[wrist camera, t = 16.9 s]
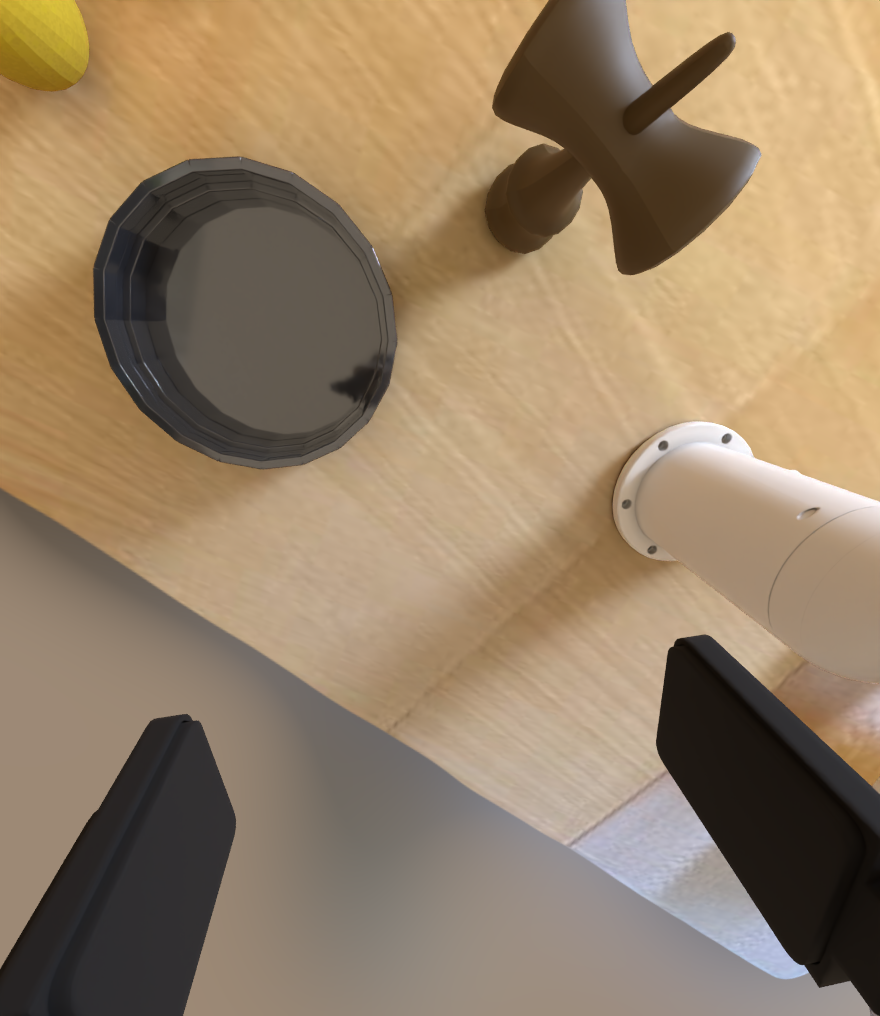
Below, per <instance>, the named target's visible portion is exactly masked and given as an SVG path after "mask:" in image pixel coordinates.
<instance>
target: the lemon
mask: <svg viewBox="0 0 880 1016" xmlns="http://www.w3.org/2000/svg"><path fill="white" fill-rule="evenodd" d="M88 58H89V42H88V34H87V31H86V28H85V24H84V21H83V18H82V15H81V13H80V10H79V8H78V7H77V5H76V3H75V1H74V0H0V74H1V75H3V76H4V77H6V78H8V79H10V80H12V81H14V82H17V83H19V84H22V85H25V86H27V87H30V88H32V89H37V90H44V91H59V90H65V89H67V88H69V87H71V86H73V85H74V84H76V83H77V82H78V81H79V80H80V79H81V77H82V76H83V75H84V73H85V70H86V68H87V65H88Z"/></svg>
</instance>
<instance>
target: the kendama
mask: <svg viewBox="0 0 880 1016" xmlns="http://www.w3.org/2000/svg"><path fill="white" fill-rule="evenodd" d="M735 44H736V39H735V36H734V35H733V34H732V33H730V32H727V33H725V34H722V35H720V36H718V37H717V38H715V39H713V40H712V41H710V42H709V43H707V44H706V45H705V46H703V47H702V48H701V49H699V50H698V51H697V52H695V53H694V54H693V55H691V56H690V57H689V58H687V59H686V60H685V61H684V62H682V63H681V64H680V65H678V66H677V67H676V68H675V69H673V70H672V71H671V72H670V73H668V74H667V75H666V76H665V77H663V78H662V79H661V80H659V81H658V82H657V83H656V84H654V85H652V84H651V82H650V81H649V79H648V77H647V76H646V74H645V72H644V71H643V68H642V66H641V64H640V62H639V60H638V58H637V55H636V52H635V49H634V46H633V43H632V39H631V34H630V29H629V23H628V15H627V7H626V0H549V1H548V3H547V4H546V5H545V7H544V8H543V10H542V11H541V13H540V14H539V16H538V17H537V19H536V20H535V22H534V23H533V25H532V26H531V28H530V29H529V31H528V32H527V34H526V35H525V37H524V39H523V40H522V42H521V44H520V45H519V47H518V49H517V50H516V52H515V54H514V55H513V57H512V59H511V61H510V62H509V64H508V66H507V67H506V69H505V71H504V73H503V75H502V77H501V80H500V82H499V84H498V86H497V89H496V92H495V95H494V99H493V106H492V108H493V110H494V113H495V115H496V116H498V117H499V118H501V119H502V120H504V121H506V122H508V123H511V124H513V125H515V126H518V127H521V128H524V129H527V130H529V131H532V132H535V133H537V134H540V135H542V136H545V137H547V138H549V139H551V140H553V141H555V142H556V143H558V144H559V145H561V146H562V147H564V148H565V149H563V150H561V151H560V150H559V149H558V148H555V147H552V146H549V145H546V144H541V145H538V146H535V147H531V148H529V149H528V150H527V151H526V152H524V153H523V154H522V155H521V156H520V157H519V158H518V159H517V160H516V162H515V163H514V164H511V165H509V166H508V167H507V168H506V169H505V170H504V171H503V172H502V173H500V174H499V175H498V176H497V178H496V179H495V181H494V183H493V185H492V187H491V189H490V191H489V192H488V195H487V202H486V208H485V213H486V217H487V221H488V225H489V228H490V230H491V231H492V233H493V234H494V236H495V237H496V239H497V240H498V242H500V243H501V244H502V245H504V246H505V247H506V248H508V249H509V250H510V251H514V252H518V253H522V254H526V253H529V252H532V251H535V250H538V249H540V248H541V247H542V246H543V245H544V244H545V243H546V242H548V241H549V240H550V239H551V238H552V236H553V235H555V234H558V233H559V232H561V231H562V230H563V229H564V228H565V227H566V226H568V225H569V224H570V223H571V222H572V220H573V218H574V217H575V215H576V213H577V212H578V210H579V208H580V203H581V198H582V194H583V190H582V188H583V187H584V186H585V185H586V183H587V182H588V181H589V180H590V179H591V178H592V179H593V181H594V182H595V183H596V184H597V186H598V187H599V189H600V190H601V192H602V194H603V196H604V198H605V200H606V203H607V206H608V209H609V214H610V219H611V225H612V233H613V242H614V251H615V258H616V264H617V268H618V271H619V272H620V273H622V274H625V275H635V274H639V273H642V272H644V271H647V270H649V269H652V268H654V267H656V266H658V265H659V264H661V263H663V262H664V261H666V260H667V259H669V258H670V257H672V256H674V255H675V254H677V253H678V252H679V251H681V250H682V249H683V248H684V247H685V246H687V245H688V244H689V243H690V242H692V241H693V240H694V239H695V238H696V237H698V236H699V235H700V234H701V233H702V232H704V231H705V230H706V229H707V228H708V227H709V226H710V225H711V224H712V223H713V222H714V221H715V220H716V219H717V218H718V217H719V216H720V215H721V214H722V213H723V212H724V211H725V210H726V209H727V208H728V207H729V206H730V204H731V203H732V202H733V201H734V199H735V198H736V197H737V195H738V194H739V193H740V191H741V190H742V189H743V188H744V186H745V185H746V184H747V182H748V181H749V179H750V177H751V175H752V173H753V171H754V169H755V167H756V165H757V163H758V161H759V159H760V157H761V153H760V150H759V148H757V147H756V146H754V145H753V144H751V143H749V142H747V141H745V140H742V139H739V138H736V137H732V136H728V135H724V134H720V133H716V132H712V131H708V130H705V129H701V128H698V127H695V126H693V125H690V124H688V123H686V122H684V121H683V120H681V119H679V118H678V117H677V116H676V115H675V114H674V113H673V111H672V109H670V108H671V107H672V106H673V105H674V104H676V103H677V102H678V101H679V100H680V99H682V98H683V97H684V96H685V95H686V94H688V93H689V92H690V91H691V90H692V89H694V88H695V87H696V86H697V85H698V84H699V83H700V82H702V81H703V80H704V79H705V78H706V77H707V76H708V75H710V74H711V73H712V72H713V71H714V70H715V69H716V68H717V67H718V66H719V65H720V64H721V63H722V62H723V61H724V60H725V59H726V58H727V57H728V56H729V55H730V54H731V52H732V51H733V49H734V47H735Z"/></svg>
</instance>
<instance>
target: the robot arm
mask: <svg viewBox="0 0 880 1016" xmlns="http://www.w3.org/2000/svg"><path fill="white" fill-rule="evenodd" d="M612 505H613V517H614V520H615V524H616V527H617V529H618V531H619V533H620V534H621V536H622V538H623V539H624V540H625V541H626V542H627V543H628V544H629V545H630V546H631V547H632V548H634V549H635V550H636V551H637V552H639V553H640V554H642V555H644V556H646V557H648V558H652V559H656V560H660V561H677V560H678V561H679V562H680V563H681V564H683V565H684V566H685V567H686V568H688V569H689V570H690V571H692V572H693V573H694V574H695V575H697V576H698V577H699V578H701V579H702V580H703V581H704V582H706V583H707V584H708V585H709V586H711V587H712V588H713V589H715V590H716V591H717V592H718V593H720V594H721V595H722V596H724V597H725V598H726V599H727V600H729V601H730V602H731V603H732V604H734V605H735V606H736V607H738V608H739V609H740V610H741V611H743V612H744V613H745V614H746V615H748V616H749V617H750V618H752V619H753V620H754V621H755V622H757V623H758V624H759V625H761V626H762V627H763V628H764V629H766V630H767V631H768V632H769V633H771V634H772V635H773V636H775V637H776V638H777V639H778V640H780V641H781V642H782V643H784V644H785V645H786V646H788V647H789V648H790V649H791V650H793V651H794V652H795V653H797V654H798V655H799V656H801V657H802V658H804V659H805V660H807V661H808V662H810V663H811V664H813V665H815V666H816V667H818V668H820V669H822V670H824V671H827V672H829V673H832V674H834V675H837V676H840V677H843V678H846V679H851V680H855V681H860V682H866V683H875V684H880V502H879V501H876V500H873V499H870V498H867V497H864V496H861V495H859V494H856V493H853V492H850V491H847V490H844V489H841V488H839V487H836V486H833V485H830V484H827V483H824V482H821V481H819V480H816V479H813V478H810V477H807V476H804V475H801V474H800V473H799V472H798V471H797V470H787V469H784V468H781V467H778V466H776V465H773V464H770V463H767V462H764V461H761V460H758V459H756V458H754V456H753V454H752V451H751V449H750V447H749V446H748V445H747V443H746V442H745V440H744V439H743V438H742V437H741V436H739V435H738V434H737V433H736V432H735V431H733V430H731V429H729V428H726V427H724V426H722V425H718V424H714V423H711V422H701V421H694V422H685V423H681V424H678V425H674V426H671V427H669V428H667V429H665V430H663V431H661V432H659V433H657V434H655V435H654V436H652V437H651V438H650V439H648V440H647V441H646V442H644V443H643V444H642V445H641V446H640V447H639V448H638V449H637V450H636V451H635V452H634V453H633V455H632V456H631V457H630V459H629V460H628V461H627V463H626V464H625V466H624V468H623V470H622V472H621V474H620V476H619V478H618V480H617V483H616V487H615V490H614V496H613V504H612ZM656 746H657V750H658V754H659V756H660V758H661V760H662V762H663V763H664V765H665V766H666V768H667V770H668V771H669V773H670V774H671V776H672V777H673V779H674V780H675V782H676V783H677V785H678V786H679V788H680V790H681V791H682V793H683V794H684V796H685V797H686V799H687V800H688V802H689V803H690V805H691V806H692V808H693V810H694V811H695V813H696V814H697V816H698V817H699V819H700V820H701V822H702V823H703V825H704V826H705V828H706V830H707V831H708V833H709V834H710V836H711V837H712V839H713V840H714V842H715V843H716V845H717V846H718V848H719V849H720V851H721V853H722V854H723V856H724V857H725V859H726V860H727V862H728V863H729V865H730V866H731V868H732V869H733V871H734V873H735V874H736V876H737V877H738V879H739V880H740V882H741V883H742V885H743V886H744V888H745V889H746V891H747V893H748V894H749V896H750V897H751V899H752V900H753V902H754V903H755V905H756V906H757V908H758V909H759V911H760V913H761V914H762V916H763V917H764V919H765V920H766V922H767V923H768V925H769V926H770V928H771V929H772V931H773V932H774V934H775V936H776V937H777V939H778V940H779V942H780V943H781V945H782V946H783V948H784V949H785V951H786V952H787V953H788V955H789V956H790V957H791V958H792V959H793V960H794V961H795V962H796V963H798V964H799V965H805V967H806V968H807V970H808V971H809V973H810V974H811V976H812V977H813V979H814V980H815V982H816V983H817V985H818V986H819V988H820V987H825V986H829V985H834V984H838V983H842V982H847V981H851V982H852V984H853V985H854V986H855V988H856V989H857V991H858V992H859V993H860V995H861V996H862V997H863V999H864V1000H865V1002H866V1003H867V1004H868V1006H869V1007H870V1014H871V1016H880V777H879V778H878V779H877V780H876V782H875V783H874V784H873V786H871V785H870V784H868V783H867V782H866V781H865V780H864V779H863V778H862V777H861V776H860V775H859V774H858V773H857V772H856V771H855V770H853V769H852V768H851V767H850V766H849V765H848V764H847V763H846V762H845V761H844V760H843V759H842V758H841V757H840V756H838V755H837V754H836V753H835V752H834V751H833V750H832V749H831V748H830V747H829V746H828V745H827V744H826V743H825V742H823V741H822V740H821V739H820V738H819V737H818V736H817V735H816V734H815V733H814V732H813V731H812V730H811V729H810V728H808V727H807V726H806V725H805V724H804V723H803V722H802V721H801V720H800V719H799V718H798V717H797V716H796V715H795V714H794V713H792V712H791V711H790V710H789V709H788V708H787V707H786V706H785V705H784V704H783V703H782V702H781V701H780V700H779V699H777V698H776V697H775V696H774V695H773V694H772V693H771V692H770V691H769V690H768V689H767V688H766V687H765V686H764V685H762V684H761V683H760V682H759V681H758V680H757V679H756V678H755V677H754V676H753V675H752V674H751V673H750V672H749V671H747V670H746V669H745V668H744V667H743V666H742V665H741V664H740V663H739V662H738V661H737V660H736V659H735V658H734V657H732V656H731V655H730V654H729V653H728V652H727V651H726V650H725V649H724V648H723V647H722V646H721V645H720V644H719V643H717V642H716V641H715V640H714V639H713V638H712V637H710V636H708V635H699V636H692V637H686V638H680V639H677V640H676V641H675V644H674V647H671V648H670V649H669V650H668V655H667V663H666V670H665V678H664V685H663V693H662V700H661V708H660V716H659V723H658V731H657V738H656ZM235 828H236V818H235V813H234V810H233V807H232V805H231V802H230V799H229V797H228V794H227V791H226V789H225V786H224V783H223V781H222V778H221V775H220V773H219V770H218V767H217V765H216V762H215V759H214V757H213V754H212V751H211V749H210V746H209V743H208V741H207V738H206V736H205V733H204V730H203V727H202V725H201V723H200V722H199V721H193V720H192V719H191V717H190V716H189V715H188V714H183V715H176V716H170V717H164V718H157V719H154V720H152V721H150V723H149V724H148V726H147V727H146V728H145V730H144V732H143V734H142V735H141V737H140V739H139V741H138V742H137V744H136V746H135V748H134V749H133V751H132V753H131V754H130V756H129V758H128V759H127V761H126V763H125V764H124V766H123V768H122V770H121V771H120V773H119V775H118V776H117V778H116V780H115V782H114V783H113V785H112V787H111V788H110V790H109V792H108V794H107V795H106V797H105V799H104V801H103V802H102V804H101V806H100V807H99V809H98V810H97V811H96V812H95V813H94V814H93V815H92V816H91V818H90V819H89V820H88V822H87V823H86V825H85V827H84V828H83V830H82V832H81V833H80V835H79V837H78V838H77V840H76V842H75V843H74V845H73V847H72V849H71V850H70V852H69V854H68V855H67V857H66V859H65V860H64V862H63V864H62V865H61V867H60V869H59V870H58V872H57V874H56V876H55V877H54V879H53V881H52V883H51V884H50V886H49V888H48V889H47V891H46V892H45V894H44V896H43V898H42V899H41V901H40V903H39V904H38V906H37V908H36V909H35V911H34V913H33V915H32V916H31V918H30V920H29V921H28V923H27V925H26V926H25V928H24V930H23V931H22V933H21V935H20V937H19V938H18V940H17V942H16V943H15V945H14V947H13V948H12V950H11V952H10V953H9V955H8V957H7V959H6V960H5V962H4V964H3V965H2V967H1V969H0V1016H183V1014H184V1010H185V1007H186V1003H187V1000H188V996H189V993H190V989H191V986H192V982H193V979H194V975H195V972H196V968H197V965H198V961H199V958H200V954H201V951H202V947H203V944H204V940H205V937H206V933H207V930H208V926H209V923H210V919H211V916H212V912H213V909H214V905H215V902H216V898H217V894H218V891H219V888H220V884H221V881H222V877H223V874H224V870H225V867H226V863H227V860H228V856H229V853H230V849H231V846H232V842H233V838H234V835H235Z"/></svg>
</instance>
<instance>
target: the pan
mask: <svg viewBox="0 0 880 1016" xmlns="http://www.w3.org/2000/svg"><path fill="white" fill-rule="evenodd" d="M93 283H94V318H95V322H96V325H97V328H98V331H99V334H100V337H101V340H102V343H103V346H104V349H105V352H106V355H107V358H108V361H109V364H110V367H111V369H112V370H113V372H114V373H115V374H116V376H117V377H118V379H119V380H120V382H121V383H122V385H123V386H124V388H125V389H126V390H127V392H128V393H129V395H130V396H131V398H132V399H133V401H134V402H135V404H136V405H137V406H138V408H139V409H140V410H141V411H142V412H143V413H144V414H145V415H146V416H148V417H149V418H150V419H151V420H152V421H153V422H155V423H156V424H157V425H158V426H159V427H160V428H162V429H163V430H164V431H165V432H166V433H167V434H169V435H170V436H171V437H172V438H173V439H174V440H176V441H178V442H179V443H181V444H183V445H185V446H187V447H190V448H192V449H194V450H196V451H198V452H200V453H202V454H204V455H206V456H208V457H210V458H212V459H215V460H217V461H219V462H224V463H229V464H235V465H240V466H246V467H251V468H257V469H271V468H280V467H289V466H298V465H303V464H306V463H308V462H311V461H313V460H315V459H317V458H320V457H322V456H324V455H326V454H329V453H331V452H333V451H335V450H337V449H339V448H341V447H342V446H343V445H344V444H345V443H346V442H347V441H349V440H350V439H351V438H352V437H353V436H354V435H355V434H356V433H357V432H358V431H359V430H360V429H362V428H363V427H364V426H365V425H366V424H367V423H368V422H369V421H370V419H371V417H372V415H373V414H374V412H375V410H376V408H377V406H378V405H379V403H380V401H381V399H382V397H383V395H384V394H385V392H386V390H387V388H388V386H389V383H390V378H391V373H392V368H393V362H394V357H395V352H396V347H397V333H396V324H395V315H394V306H393V297H392V292H391V290H390V287H389V285H388V283H387V280H386V278H385V275H384V273H383V271H382V268H381V266H380V263H379V261H378V259H377V256H376V254H375V251H374V249H373V247H372V245H371V244H370V243H369V241H368V240H367V239H366V238H365V236H364V235H363V234H362V233H361V231H360V230H359V229H358V228H357V226H356V225H355V224H354V223H353V221H352V220H351V219H350V218H349V216H348V215H347V214H346V213H345V211H344V210H343V209H342V208H341V206H340V205H338V203H336V202H335V201H334V200H332V199H331V198H329V197H328V196H326V195H325V194H324V193H322V192H321V191H319V190H318V189H316V188H315V187H314V186H312V185H311V184H309V183H308V182H306V181H305V180H304V179H302V178H301V177H299V176H298V175H296V174H295V173H292V172H290V171H287V170H284V169H280V168H277V167H274V166H271V165H267V164H264V163H261V162H257V161H254V160H251V159H248V158H244V157H222V158H204V159H189V160H186V161H184V162H181V163H179V164H177V165H175V166H173V167H171V168H169V169H167V170H165V171H163V172H161V173H158V174H156V175H154V176H152V177H150V178H148V179H146V180H144V181H143V182H141V183H140V184H139V186H138V187H137V188H136V189H135V190H134V191H133V193H132V194H131V195H130V196H129V197H128V198H127V199H126V201H125V202H124V203H123V204H122V205H121V206H120V207H119V209H118V210H117V211H116V212H115V213H114V214H113V216H112V217H111V218H110V220H109V222H108V225H107V228H106V231H105V233H104V236H103V239H102V242H101V245H100V248H99V251H98V254H97V257H96V260H95V263H94V268H93Z"/></svg>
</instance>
